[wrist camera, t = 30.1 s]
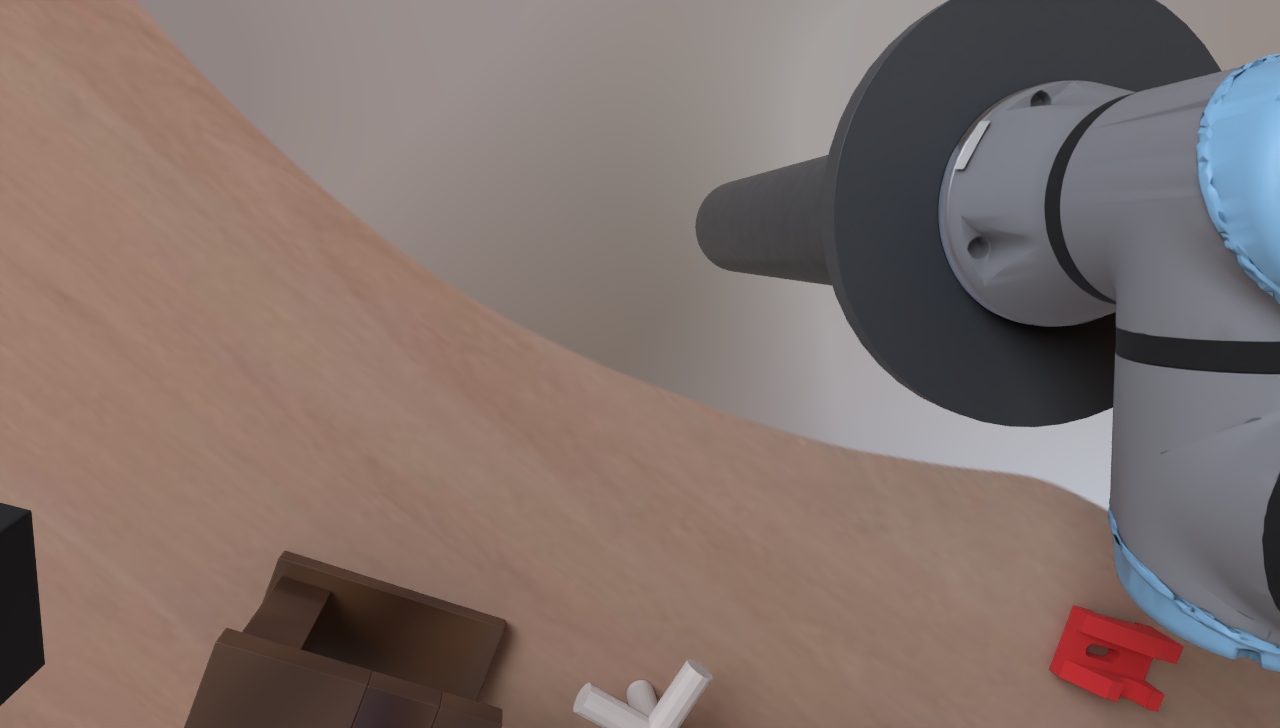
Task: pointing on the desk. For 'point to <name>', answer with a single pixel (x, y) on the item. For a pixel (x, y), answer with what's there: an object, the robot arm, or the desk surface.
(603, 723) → the white crossed rods piece
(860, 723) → the desk surface
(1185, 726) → the desk surface
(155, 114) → the desk surface
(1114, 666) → the bracket
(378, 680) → the stand
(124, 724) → the desk surface
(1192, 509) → the robot arm
